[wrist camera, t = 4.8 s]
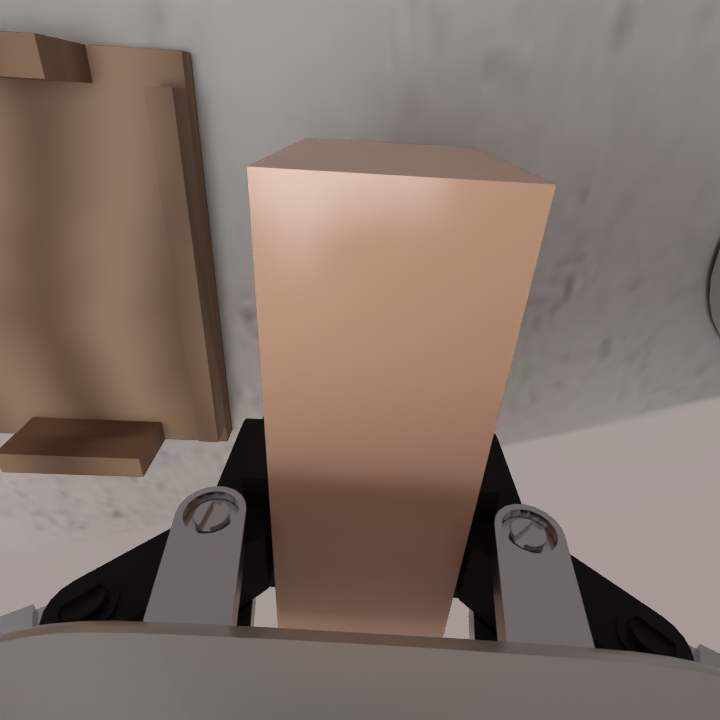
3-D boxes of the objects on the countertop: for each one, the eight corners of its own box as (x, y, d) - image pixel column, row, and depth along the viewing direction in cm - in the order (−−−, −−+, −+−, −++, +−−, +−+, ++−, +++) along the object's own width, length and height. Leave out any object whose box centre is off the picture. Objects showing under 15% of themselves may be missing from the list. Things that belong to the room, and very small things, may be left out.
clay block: (472, 147, 9) (555, 184, 5) (405, 572, 16) (416, 742, 12) (306, 137, 9) (246, 166, 5) (309, 567, 16) (285, 734, 12)
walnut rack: (190, 53, 18) (148, 40, 14) (231, 430, 27) (212, 479, 23) (-182, 30, 17) (-321, 11, 14) (-12, 421, 26) (-69, 469, 23)
